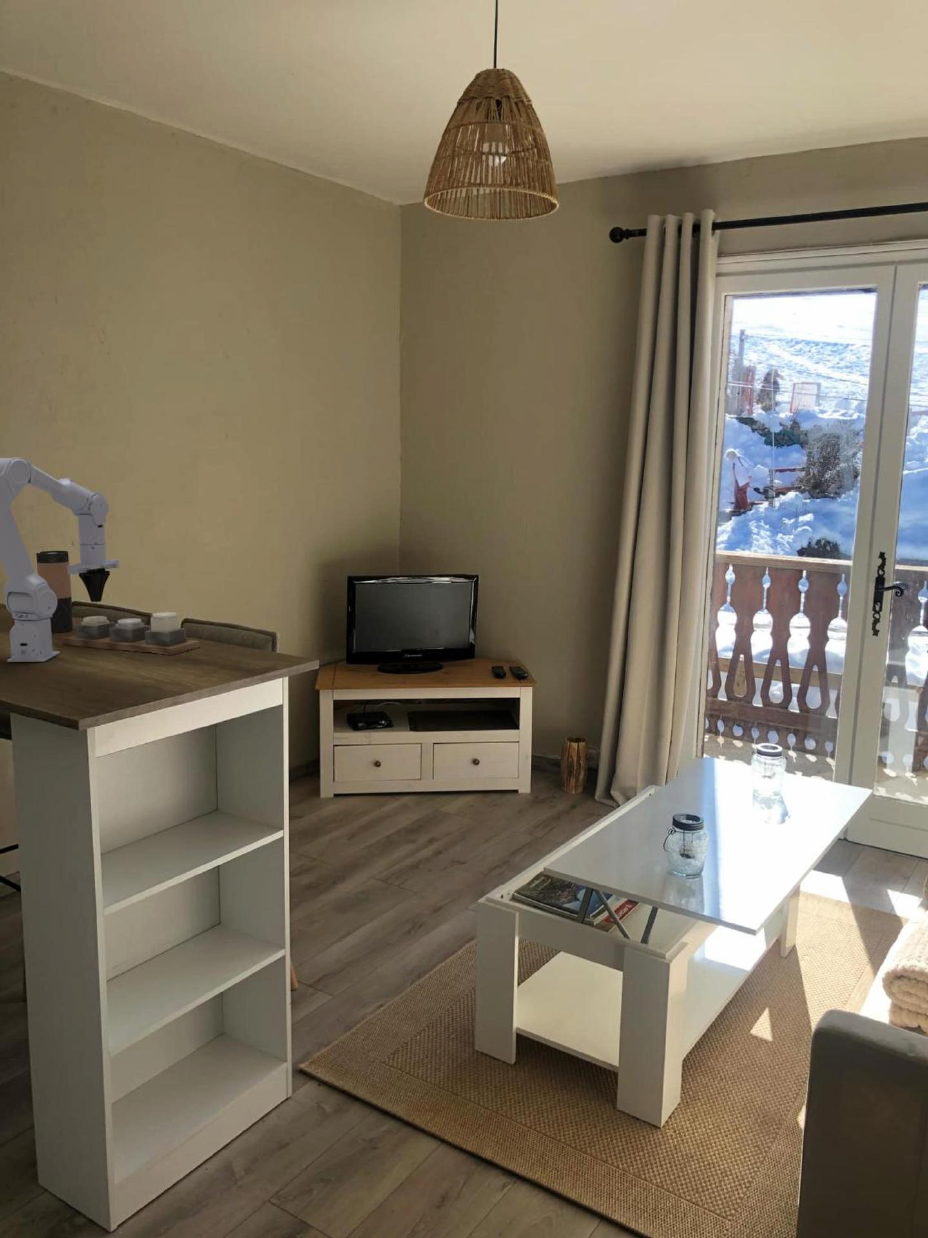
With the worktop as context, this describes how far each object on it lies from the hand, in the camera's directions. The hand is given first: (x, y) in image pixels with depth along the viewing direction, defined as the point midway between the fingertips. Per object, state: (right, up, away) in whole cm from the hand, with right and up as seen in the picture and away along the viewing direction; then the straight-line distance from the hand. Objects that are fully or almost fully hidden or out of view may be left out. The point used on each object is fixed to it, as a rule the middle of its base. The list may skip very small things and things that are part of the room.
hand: (96, 601), depth 239 cm
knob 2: (+9, -9, -3) cm, 13 cm away
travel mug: (-16, -7, +18) cm, 25 cm away
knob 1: (-1, -8, +2) cm, 8 cm away
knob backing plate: (+9, -10, -2) cm, 14 cm away
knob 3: (+19, -7, -7) cm, 21 cm away
